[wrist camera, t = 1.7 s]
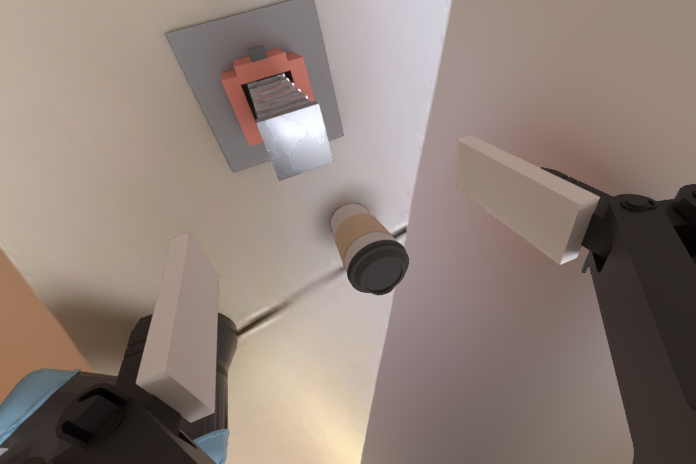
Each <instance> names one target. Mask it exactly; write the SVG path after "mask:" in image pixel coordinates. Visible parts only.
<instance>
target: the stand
mask: <svg viewBox="0 0 696 464" xmlns="http://www.w3.org/2000/svg"><path fill="white" fill-rule="evenodd" d="M165 36H166V38H167V40H168V42H169V44H170V46H171V48H172V50H173V52H174V54H175V56H176V58H177V60H178V62H179V64H180V66H181V68H182V70H183V72H184V74H185V76H186V78H187V80H188V82H189V84H190V86H191V88H192V90H193V92H194V94H195V96H196V98H197V100H198V102H199V104H200V106H201V108H202V110H203V112H204V114H205V116H206V118H207V120H208V123H209V125H210V127H211V129H212V131H213V133H214V135H215V137H216V139H217V141H218V143H219V145H220V147H221V149H222V151H223V153H224V155H225V157H226V159H227V161H228V163H229V165H230V167H231V169H232V171H233V173H234V172H237V171H240V170H243V169H246V168H249V167H252V166H255V165H258V164H261V163H264V162H267V161H270V160H271V159H270V156H269V154H268V151H267V149H266V146H265V144H264V141H263V139H262V136H261V134H260V131H259V129H258V126H257V124H256V120H255V119H258V116H257V113H256V110H255V107H254V104H253V100H252V97H251V94H250V91H249V88H248V85H247V83H249V82H252V81H256V80H259V79H262V78H266V77H269V76H272V75H276V74H279V73H284V76H285V77H288V79H289V81H290V82H293V83H294V86H295V87H296V88H297V87H298V88H299V89H300V92H301V93H303V94H306V95H307V97H308V99H309V100H310V101H311V102H313V101H316V102H318V103H319V106H320V110H321V114H322V118H323V122H324V126H325V130H326V134H327V138H328V141H330V140H333V139H336V138H339V137H342V136H344V133H343V129H342V124H341V120H340V115H339V111H338V106H337V102H336V97H335V92H334V88H333V83H332V79H331V74H330V70H329V65H328V61H327V56H326V52H325V47H324V42H323V38H322V33H321V29H320V24H319V20H318V15H317V11H316V6H315V1H314V0H290V1H287V2H283V3H279V4H275V5H272V6H268V7H264V8H260V9H257V10H253V11H249V12H245V13H241V14H238V15H234V16H230V17H226V18H223V19H219V20H215V21H211V22H207V23H204V24H200V25H196V26H192V27H189V28H185V29H181V30H177V31H173V32H170V33H166V34H165Z"/></svg>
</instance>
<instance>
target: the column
mask: <svg viewBox="0 0 696 464" xmlns="http://www.w3.org/2000/svg"><path fill="white" fill-rule="evenodd" d="M247 85H248V88H249V91H250V94H251V97H252V100H253V104H254V107H255V110H256V113H257V116H258V119H255V120H256V124H257V126H258V129H259V131H260V134H261V136H262V139H263V141H264V144H265V146H266V149H267V151H268V154H269V156H270V159H271V161H272V164H273V166H274V169H275V171H276V174H277V177H278V179H279V181H280V180H283V179H286V178H288V177H291V176H294V175H297V174H300V173H303V172H306V171H309V170H312V169H315V168H318V167H321V166H324V165H326V164H329V163H332V162H334V161H333V157H332V153H331V149H330V145H329V142H328V138H327V134H326V130H325V126H324V122H323V118H322V114H321V110H320V106H319V103H318V102H316V101H313V102H311V101H310V100H309V99H308V97H307V95H306V94H303V93H301V92H300V89H299V88H298V87H297V88H296V87H295V86H294V83H293V82H290V81H289V79H288V77H285V76H284V73H279V74H276V75H272V76H269V77H266V78H262V79H259V80H256V81H252V82H249V83H247Z"/></svg>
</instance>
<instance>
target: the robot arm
mask: <svg viewBox="0 0 696 464" xmlns="http://www.w3.org/2000/svg"><path fill="white" fill-rule="evenodd" d="M456 188H457V189H458V190H459V191H461V192H462V193H463V194H465V195H466V196H467V197H469V198H470V199H472V200H473V201H474V202H476V203H477V204H478V205H480V206H481V207H482V208H484V209H485V210H487V211H488V212H489V213H490V214H492V215H493V216H495V217H496V218H497V219H499V220H500V221H502V222H503V223H504V224H505V225H507V226H508V227H509V228H511V229H512V230H514V231H515V232H516V233H518V234H519V235H520V236H522V237H523V238H524V239H526V240H527V241H528V242H530V243H531V244H532V245H534V246H535V247H536V248H538V249H539V250H540V251H542V252H543V253H545V254H546V255H547V256H549V257H550V258H551V259H553V260H554V261H555V262H557V263H558V264H559V265H560V264H563V263H566V262H568V261H570V260H572V259H575V258H577V256H578V253H579V251H580V248H581V246H584V247H585V248H587V249H588V250H590V251H589V253H588V255H587V258H586V260H585V263H584V265H583V268H582V273H586V270H587V268H588V267H590V271H591V275H592V279H593V283H594V287H595V291H596V295H597V299H598V303H599V307H600V311H601V315H602V319H603V324H604V328H605V332H606V336H607V340H608V344H609V348H610V352H611V356H612V360H613V364H614V368H615V373H616V376H617V381H618V385H619V389H620V393H621V397H622V401H623V405H624V409H625V413H626V418H627V421H628V425H629V430H630V434H631V438H632V442H633V447H634V459H633V464H696V184H691V185H685V186H683V187H682V188H680V190H679V191H678V193H677V195H676V197H675V198H674V199H671V200H663V201H655V200H653V199H651V198H648V197H645V196H641V195H634V194H621V195H617V196H614V197H613V196H610V195H608V194H606V193H604V192H602V191H599V190H597V189H595V188H593V187H591V186H589V185H587V184H584V183H582V182H580V181H579V182H578V181H577V180H576V179H574V178H571V177H568V176H567V175H565V174H563V173H561V172H558V171H556V170H552V169H548V168H543V167H541V168H539V167H537V166H534V165H532V164H530V163H528V162H526V161H524V160H522V159H520V158H518V157H516V156H513V155H511V154H509V153H507V152H505V151H503V150H501V149H499V148H497V147H495V146H493V145H490V144H488V143H486V142H484V141H482V140H480V139H478V138H476V137H474V136H472V135H470V136H467V137H464V138H461V139H458V140H457V163H456ZM218 291H219V275H218V273H217V272H216V270H215V269H214V267H213V266H212V264H211V263H210V262H209V260H208V259H207V257H206V256H205V254H204V253H203V251H202V250H201V248H200V247H199V245H198V244H197V243H196V241H195V240H194V238H193V237H192V235H191V234H190V233H187V234H184V235H181V236H178V237H175V238H173V239H172V240H171V244H170V248H169V252H168V256H167V260H166V264H165V268H164V272H163V276H162V280H161V284H160V288H159V292H158V296H157V300H156V304H155V308H154V312H153V314H151V315H149V316H146V317H143V318H141V319H140V320H139V322H138V323H137V325H136V326H135V328H134V329H133V331H132V332H131V335H130V339H129V342H128V345H127V346H128V348H127V349H126V352H125V355H124V358H125V359H124V360H123V362H122V365H121V368H120V371H119V375H118V376H111V375H104V374H96V373H88V372H81V370H74V371H68V370H56V369H40V370H36V371H34V372H31V373H30V374H28V375H26V376H25V377H24V378H23V379H21V380H20V382H19V383H18V384H17V385H16V386H15V388H14V389H13V390H12V391H11V392H10V394H9V395H8V396H7V397H6V399H5V400H4V401H3V402H2V404H1V405H0V464H225V461H226V458H227V446H228V436H229V430H228V382H227V376H228V370H229V367H230V364H231V362H232V359H233V356H234V353H235V350H236V347H237V329H236V327H235V325H234V323H233V322H232V321H231V320H230V319H228V318H227V317H225V316H223V315H221V314H219V313H218Z"/></svg>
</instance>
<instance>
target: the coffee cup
mask: <svg viewBox="0 0 696 464" xmlns="http://www.w3.org/2000/svg"><path fill="white" fill-rule="evenodd" d="M331 228H332V231H333V234H334V237H335V242H336V245H337V248H338V251H339V254H340V256H341V259H342V262H343V265H344V267H345V269H346V271H347V276H348V279H349V281H350V283H351V284H352V286H353V287H354V288H355V289H356V290H358V291H360V292H364V293H372V294H375V295H383V294H387V293H389V292H391V291H392V290H393V288H394V287H395V286H396V285H397V284H398V283H399V282H400V281H401V280H402V279H403V277H404V275H405V273H406V271H407V268H408V264H409V257H408V255H407V253H406V250H405V248H404V247H403V246H402V245H401V244H400V243H398V242H396V240H395V238H394V237H393V236H392V235H391V234H390V233H389V232H388V231H387V229H386V228H385V227H384V226H383V225H382V224H381V223H380V222H379V221H378V220H377V219H376V218H375V217H374V216H372V215H371V214H370V213H369V212H368V211H367V210H366V208H365V207H363V206H362V205H360V204H356V203H350V204H346V205H344V206H342V207H340V208H339V209H337V210H336V211H335V213H334V214H333V216H332V218H331Z"/></svg>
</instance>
